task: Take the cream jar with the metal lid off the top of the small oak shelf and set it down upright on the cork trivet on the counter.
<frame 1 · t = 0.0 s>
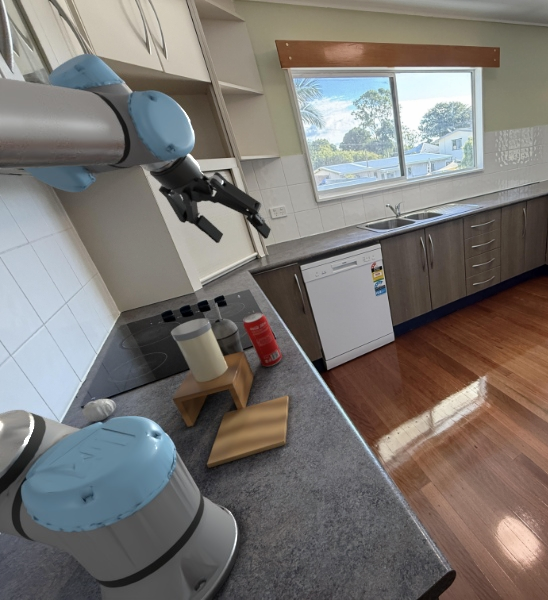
hand: (243, 236, 74), 36 cm above the worktop, tool tilted 35°, fingers open, 13 cm apart
beverage can: (271, 362, 89), on the worktop
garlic: (104, 417, 77), on the worktop
trivet: (253, 429, 66), on the worktop
shelf: (223, 399, 77), on the worktop
grey bottle: (238, 369, 89), on the worktop
jar: (211, 372, 73), point 8 cm above the worktop, touching shelf
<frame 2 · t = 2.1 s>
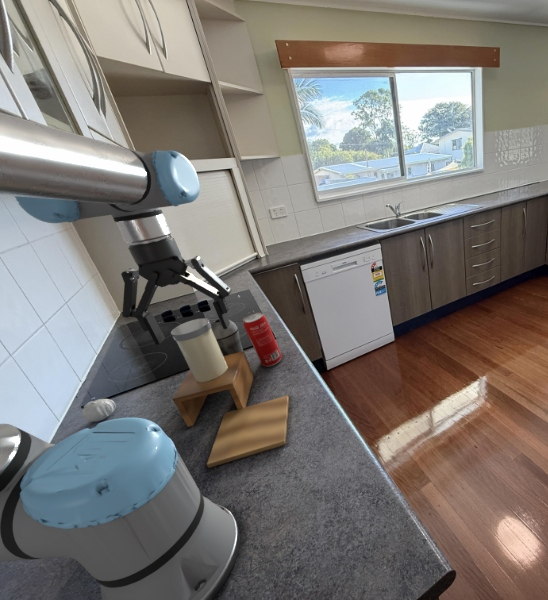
hand: (194, 333, 69), 18 cm above the worktop, tool pointing down, fingers open, 13 cm apart
nothing on the worktop moved.
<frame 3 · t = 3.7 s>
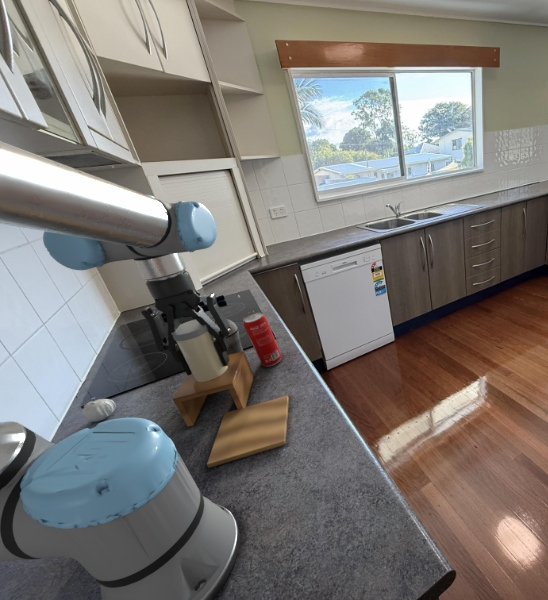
hand: (209, 367, 73), 10 cm above the worktop, tool pointing down, fingers closed on jar, 7 cm apart
jar: (211, 372, 73), point 8 cm above the worktop, touching gripper, shelf
everything else where it was.
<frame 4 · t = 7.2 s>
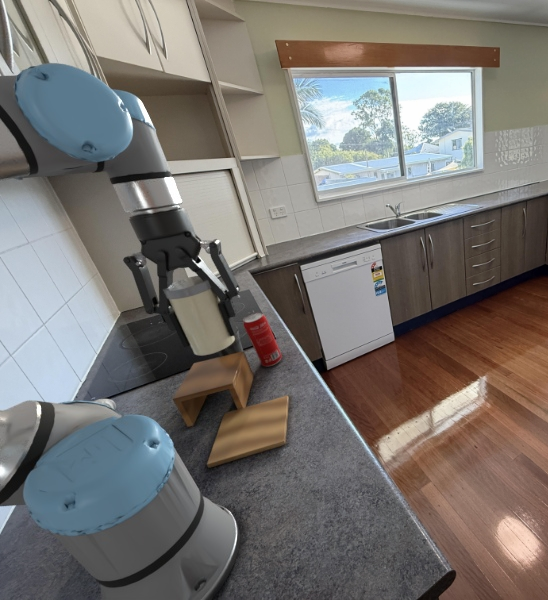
hand: (211, 337, 57), 22 cm above the worktop, tool pointing down, fingers closed on jar, 7 cm apart
jar: (214, 344, 58), point 21 cm above the worktop, touching gripper
everything else where it was.
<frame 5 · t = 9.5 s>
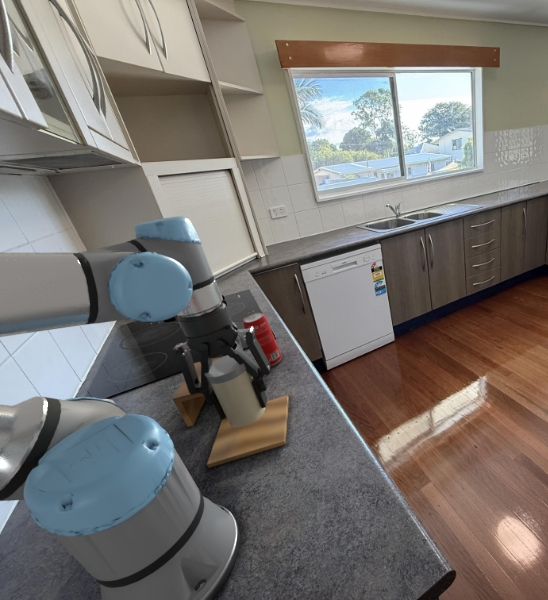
hand: (245, 408, 64), 6 cm above the worktop, tool pointing down, fingers closed on jar, 7 cm apart
jar: (247, 414, 64), point 4 cm above the worktop, touching gripper
everything else where it was.
when the fingers open (2 cm above the worktop, at t = 10.8 s): jar stays where it is, resting on trivet.
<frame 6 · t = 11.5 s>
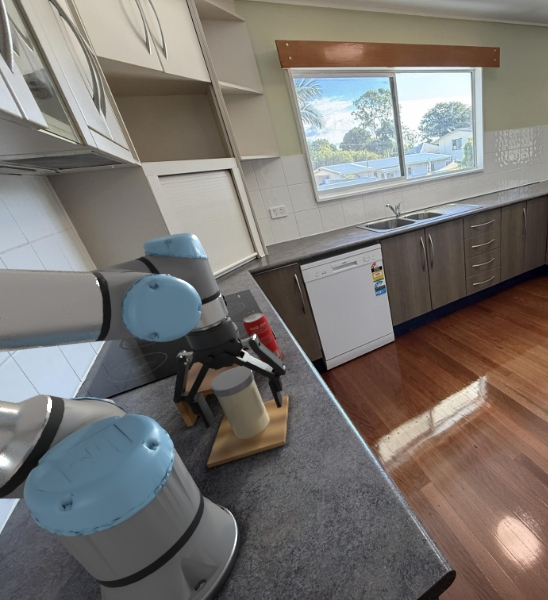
hand: (246, 413, 64), 5 cm above the worktop, tool pointing down, fingers open, 13 cm apart
jar: (252, 425, 66), point 1 cm above the worktop, touching trivet
everything else where it was.
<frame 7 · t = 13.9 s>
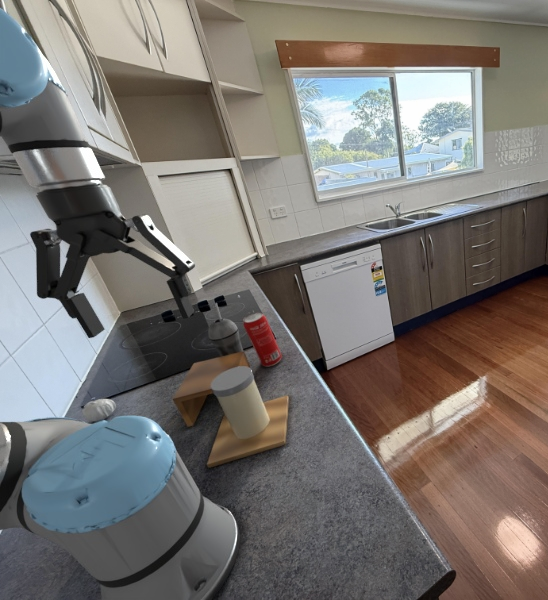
hand: (144, 324, 51), 29 cm above the worktop, tool pointing down, fingers open, 13 cm apart
nothing on the worktop moved.
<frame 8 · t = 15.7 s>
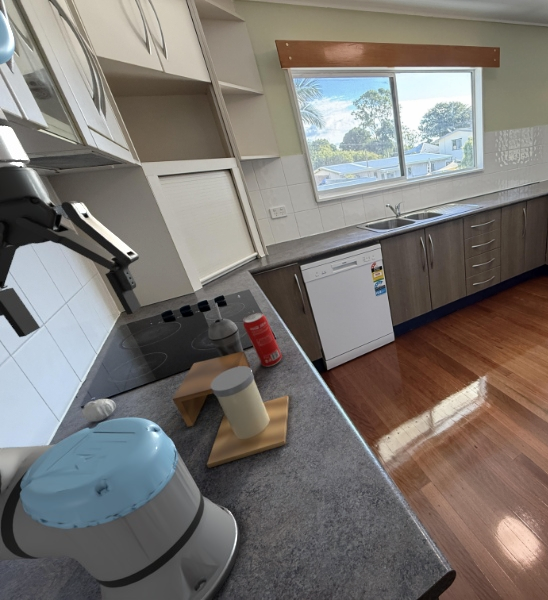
hand: (84, 321, 47), 32 cm above the worktop, tool pointing down, fingers open, 13 cm apart
nothing on the worktop moved.
at the end: jar inside the target area on the trivet (0.1 cm from its centre), point 1.0 cm above the trivet's base; jar tilted 0°; the gripper is holding nothing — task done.
